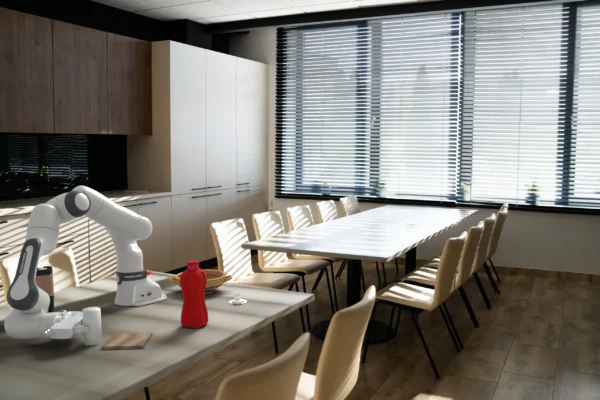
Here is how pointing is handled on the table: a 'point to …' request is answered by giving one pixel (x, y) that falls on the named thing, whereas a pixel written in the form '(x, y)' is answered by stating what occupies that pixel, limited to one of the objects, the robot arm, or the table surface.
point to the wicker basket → (208, 279)
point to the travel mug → (46, 283)
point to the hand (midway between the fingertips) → (93, 324)
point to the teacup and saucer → (237, 299)
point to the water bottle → (193, 296)
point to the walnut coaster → (127, 341)
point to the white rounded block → (92, 325)
